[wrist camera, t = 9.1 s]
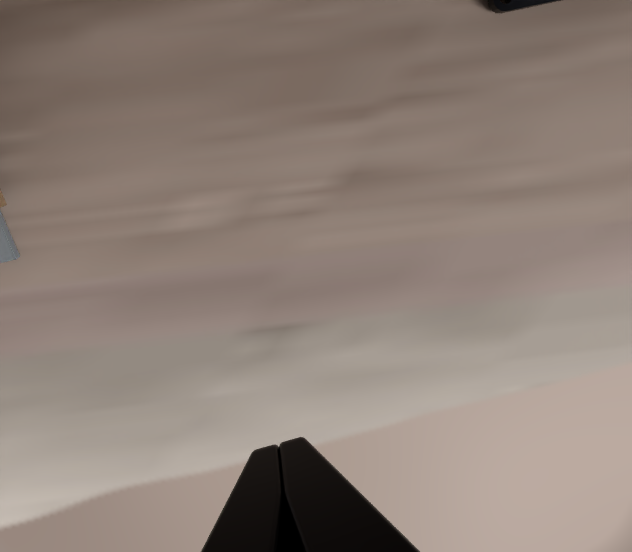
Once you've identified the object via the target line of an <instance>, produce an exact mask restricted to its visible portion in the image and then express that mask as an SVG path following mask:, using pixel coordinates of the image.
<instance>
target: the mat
mask: <svg viewBox="0 0 632 552" xmlns="http://www.w3.org/2000/svg"><path fill="white" fill-rule="evenodd" d="M19 257H20V255H19V253H18V250H17V248H16V246H15V243H14V241H13V239H12V236H11V234H10V232H9V229H8V227H7V225H6V222H5V220H4V218H3V216H2V213H1V211H0V263H3V262H7V261H11V260H16V259H17V258H19Z"/></svg>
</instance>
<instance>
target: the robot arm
mask: <svg viewBox="0 0 632 552" xmlns="http://www.w3.org/2000/svg"><path fill="white" fill-rule="evenodd" d="M556 1H561V0H506V2H505V4H503V3H502V2H501V1H500V0H488V4H489V7H490V8H491V10H492V11H493V12H495V13H505V12H510V11H514V10H519V9H524V8H528V7H533V6H538V5H542V4H547V3H552V2H556ZM201 552H420V551H419V550H418V549H417V548H416V547H415V546H414V545H412V543H411V542H409V540H408V539H407V538H406V537H405V536H404V535H403V534H402V533H401V532H400V531H399V530H397V529H396V528H395V527H394V526H393V525H392V524H391V523H390V522H389V521H388V520H387V519H386V518H385V517H384V516H383V515H382V514H381V513H380V512H379V511H378V510H377V509H376V508H375V507H374V506H373V505H372V504H371V503H370V502H369V501H368V500H367V499H366V498H365V497H364V496H363V495H362V494H361V493H360V492H359V491H358V490H357V489H356V488H355V487H354V486H353V485H352V484H351V483H350V482H349V481H348V480H346V478H345V477H344V476H343V475H342V474H341V473H340V472H339V471H338V470H337V469H336V468H335V467H333V465H331V463H329V461H327V460H326V459H325V458H324V457H323V456H322V455H321V454H320V453H319V452H318V451H317V450H316V449H315V448H314V447H313V446H312V445H311V444H310V443H309V442H308V441H307V440H306V439H305V438H303V437H299V438H295V439H292V440H288V441H285V442H282V443H281V444H280V446H279V447H278V446H277V445H271V446H267V447H263V448H260V449H256V450H254V451H253V452H252V454H251V455H250V457H249V459H248V461H247V463H246V465H245V467H244V469H243V471H242V473H241V475H240V477H239V479H238V481H237V483H236V485H235V487H234V489H233V491H232V492H231V494H230V497H229V498H228V500H227V502H226V504H225V506H224V508H223V510H222V512H221V514H220V516H219V518H218V520H217V522H216V524H215V526H214V528H213V530H212V531H211V533H210V535H209V537H208V539H207V542H206V543H205V545H204V547H203V549H202V551H201Z"/></svg>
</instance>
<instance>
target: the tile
mask: <svg viewBox="0 0 632 552" xmlns="http://www.w3.org/2000/svg"><path fill="white" fill-rule="evenodd" d="M5 205H7V204H6V202H5V199H4V197H3V195H2V192H1V190H0V207H3V206H5Z"/></svg>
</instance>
